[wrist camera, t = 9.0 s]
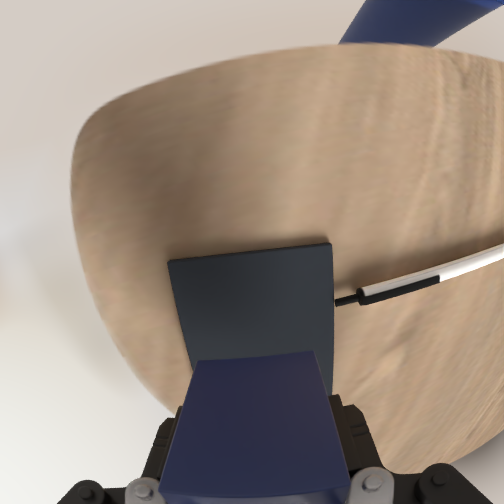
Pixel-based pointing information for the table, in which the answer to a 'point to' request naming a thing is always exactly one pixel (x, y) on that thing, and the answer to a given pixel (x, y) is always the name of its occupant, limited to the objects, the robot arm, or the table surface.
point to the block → (256, 436)
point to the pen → (422, 278)
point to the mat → (258, 304)
